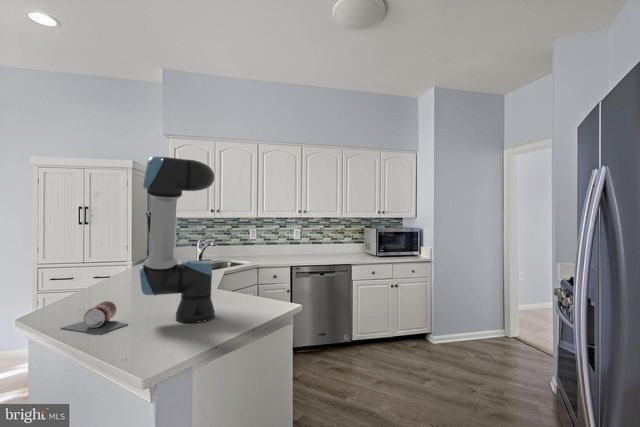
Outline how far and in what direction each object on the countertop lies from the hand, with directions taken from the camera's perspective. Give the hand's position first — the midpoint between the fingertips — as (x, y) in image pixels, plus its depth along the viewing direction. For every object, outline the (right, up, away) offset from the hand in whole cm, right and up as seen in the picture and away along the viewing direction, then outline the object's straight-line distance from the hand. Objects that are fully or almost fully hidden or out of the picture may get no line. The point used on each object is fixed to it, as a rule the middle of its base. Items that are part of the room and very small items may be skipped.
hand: (155, 249), depth 157 cm
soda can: (-7, -21, -24) cm, 33 cm away
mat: (-6, -25, -33) cm, 42 cm away
